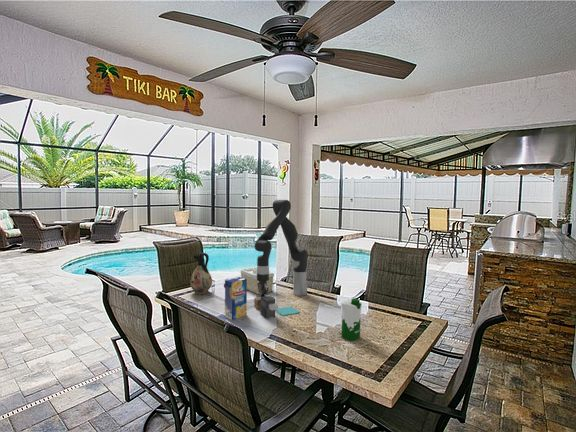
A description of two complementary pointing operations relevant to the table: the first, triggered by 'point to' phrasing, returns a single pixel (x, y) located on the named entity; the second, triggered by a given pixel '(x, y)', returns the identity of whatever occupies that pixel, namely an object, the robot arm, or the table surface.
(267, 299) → the block
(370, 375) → the table surface
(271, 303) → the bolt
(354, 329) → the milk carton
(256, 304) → the block
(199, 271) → the ceramic jug
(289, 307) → the mat
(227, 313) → the blue yellow food box
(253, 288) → the storage basket
